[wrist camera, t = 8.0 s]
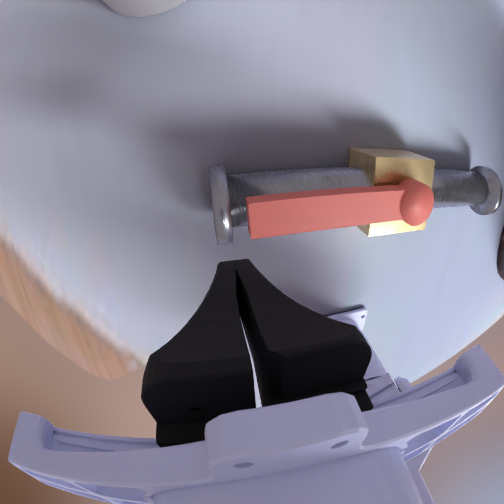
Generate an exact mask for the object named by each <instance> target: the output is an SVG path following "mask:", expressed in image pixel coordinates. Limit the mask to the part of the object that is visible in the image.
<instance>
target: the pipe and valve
mask: <svg viewBox="0 0 504 504" xmlns="http://www.w3.org/2000/svg"><path fill="white" fill-rule="evenodd" d="M434 166H435V160H433V159H430V158H427V157H425V156H422V155H419V154H416V153H413V152H410V151H407V150H397V149H378V148H349V167H330V168H307V169H290V170H275V171H263V172H252V173H242V174H232V175H226V171H225V166H224V165H223V166H214V167H209V179H210V189H211V198H212V207H213V215H214V223H215V231H216V238H217V244H218V245H225V244H232V243H233V229H232V227H240V226H248V219H247V208H246V197H252V196H261V195H269V194H279V193H289V192H299V191H310V190H322V189H335V188H350V187H366V186H386V185H398V184H399V183H400V182H401V181H403V180H405V179H407V178H413V179H415V180H417V181H419V182H422V183H424V184H426V185H428V186H429V187H430V188H431V190H432V192H433V195H434V205H433V208H440V207H456V206H470V207H471V209H472V210H473V211H474V212H476V213H477V214H480V215H488V214H492V213H494V212H495V211H496V210H497V209H498V208H499V206H500V204H501V200H502V186H501V182H500V180H499V178H498V176H497V174H496V173H495V172H494V171H493V170H492V169H490V168H488V167H482V166H477V167H474V168H472V169H471V170H470V171H461V170H448V169H434ZM426 221H427V219H426ZM426 221H424V222H423V223H422V224H420V225H418V226H411V225H409V224H407V223H406V222H404V221H403V220H398V221H390V222H382V223H373V224H365V225H357V227H358V228H360V229H361V230H362V231H363V232H364V233H365V234H366V235H367V236H369V237H370V236H377V235H385V234H393V233H401V232H408V231H416V230H424V229H425V226H426Z"/></svg>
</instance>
